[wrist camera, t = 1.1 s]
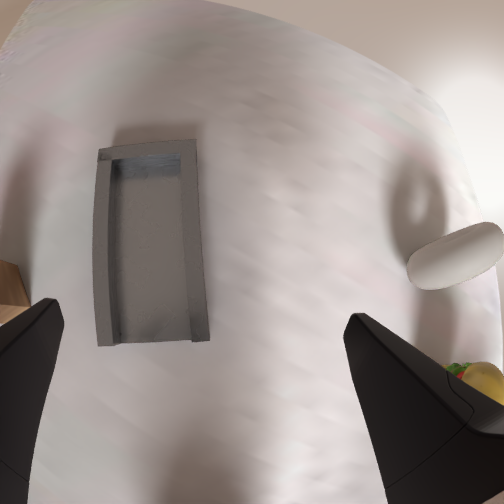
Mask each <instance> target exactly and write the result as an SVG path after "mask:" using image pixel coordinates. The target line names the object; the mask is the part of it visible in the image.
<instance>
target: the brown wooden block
mask: <svg viewBox="0 0 504 504" xmlns="http://www.w3.org/2000/svg"><path fill="white" fill-rule="evenodd" d="M30 307H31V305H30V302H29V300H28V297H27V294H26V291H25V288H24V285H23V282H22V279H21V276H20V273H19V269H18V266H17V265H14V264H11V263H8V262H5V261H2V260H0V323H7V322H8V321H10V320H11V319H13V318H14V317H16V316H17V315H19V314H20V313H22V312H23V311H25V310H27V309H28V308H30Z"/></svg>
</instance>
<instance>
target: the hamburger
mask: <svg viewBox="0 0 504 504" xmlns="http://www.w3.org/2000/svg"><path fill="white" fill-rule="evenodd" d="M441 366H442V367H444V368H445V369H446V370H448V371H449V372H451V373H452V374H454V375H455V376H457V377H458V378H460V379H461V380H463V381H464V382H465V383H467V384H469V385H470V386H472V387H473V388H475V389H477V390H478V391H480V392H482V393H483V394H485V395H487V396H489V397H490V398H492V399H494V400H495V401H497V402H499V403H500V404H502V405H504V376H503V374H502V372H501V371H500V370H499V369H498V368H497V367H496V366H495V365H493V364H491V363H489V362H478V363H473V364H472V363H466V365H465V364H463V365H462V366H461V365H459V364H457V363H453V364H452V365H441Z"/></svg>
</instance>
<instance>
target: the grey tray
mask: <svg viewBox="0 0 504 504" xmlns="http://www.w3.org/2000/svg"><path fill="white" fill-rule="evenodd" d="M97 162H98V165H97V174H96V185H95V197H94V214H93V293H94V309H95V322H96V332H97V341H98V346H115V345H118V344H121V343H144V342H163V341H179V340H192V342H201V341H210V334H209V325H208V316H207V306H206V296H205V285H204V273H203V261H202V248H201V235H200V219H199V202H198V183H197V149H196V139H190V140H175V141H162V142H151V143H142V144H133V145H125V146H117V147H110V148H103V149H99V152H98V160H97Z"/></svg>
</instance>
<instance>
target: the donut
mask: <svg viewBox="0 0 504 504" xmlns="http://www.w3.org/2000/svg"><path fill="white" fill-rule="evenodd" d="M503 252H504V234H503V232H502V230H501V229H500V228H499V226H498V225H496V224H494V223H490V222H482V223H478V224H475V225H472V226H469V227H466V228H463V229H461V230H458V231H456V232H453V233H451V234H449V235H446V236H444V237H442V238H440V239H437V240H435V241H433V242H431V243H429V244H427V245H425V246H424V247H422V248H420V249H418V250H417V251H415V252H414V253H413V254H412V255H411V257H410V258H409V261H408V264H407V275H408V278H409V280H410V282H411V283H412V284H413V285H415V286H417V287H419V288H421V289H425V290H437V289H442V288H447V287H450V286H454V285H457V284H460V283H463V282H465V281H467V280H470V279H472V278H474V277H476V276H478V275H480V274H482V273H484V272H485V271H487V270H488V269H490V268H491V267H492V266H494V265H495V264H496V262H497V261H498V260H499V259H500V258H501V257H502V255H503Z"/></svg>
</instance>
